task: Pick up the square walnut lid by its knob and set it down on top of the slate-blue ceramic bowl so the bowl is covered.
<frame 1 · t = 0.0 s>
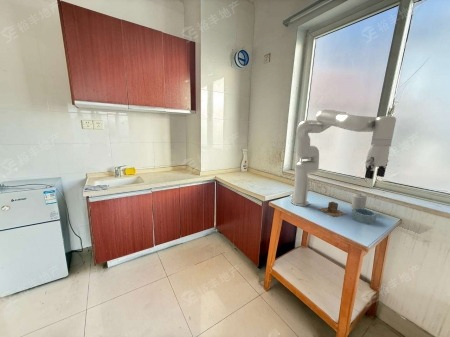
hand: (374, 177, 94), 31 cm above the table, tool pointing down, fingers open, 9 cm apart
lid: (332, 212, 127), on the table
can: (357, 210, 130), on the table
bowl: (363, 219, 117), on the table
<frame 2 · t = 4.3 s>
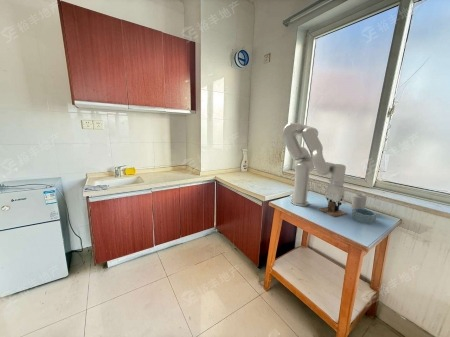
hand: (333, 209, 126), 2 cm above the table, tool pointing down, fingers closed on lid, 4 cm apart
lid: (332, 211, 127), on the table, touching gripper
everything else where it was.
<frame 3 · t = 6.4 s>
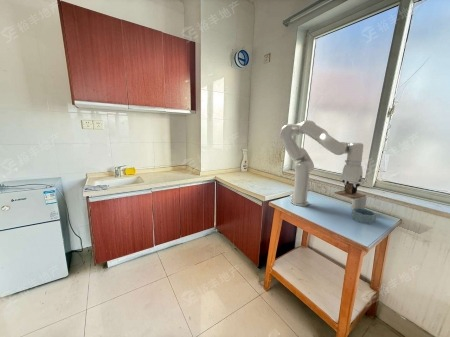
hand: (350, 191, 119), 16 cm above the table, tool pointing down, fingers closed on lid, 4 cm apart
lid: (349, 194, 119), point 14 cm above the table, touching gripper
everything else where it was.
when the fingers open (9 cm above the table, at t = 8.9 s): lid drops 2 cm, resting on bowl.
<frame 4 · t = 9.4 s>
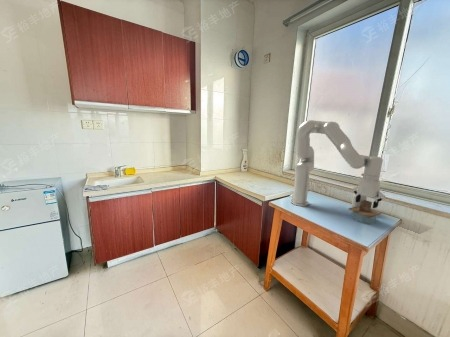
hand: (365, 204, 115), 10 cm above the table, tool pointing down, fingers open, 9 cm apart
lid: (364, 211, 116), point 5 cm above the table, touching bowl
everything else where it was.
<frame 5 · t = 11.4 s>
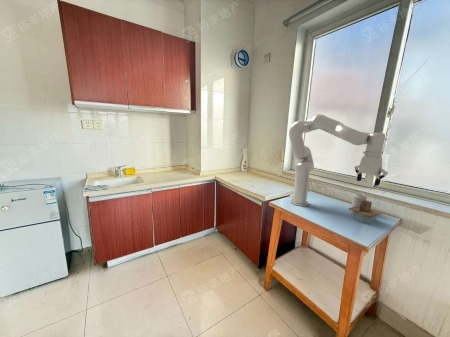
hand: (367, 183, 112), 23 cm above the table, tool pointing down, fingers open, 9 cm apart
nothing on the table moved.
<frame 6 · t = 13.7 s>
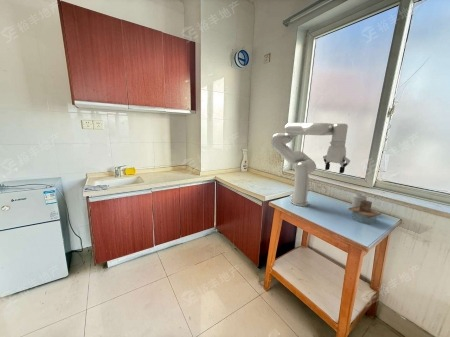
hand: (334, 171, 119), 28 cm above the table, tool pointing down, fingers open, 9 cm apart
nothing on the table moved.
at the end: lid 0.1 cm off-centre on the bowl, point 5.0 cm above the bowl's base; lid tilted 0°; the gripper is holding nothing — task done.
